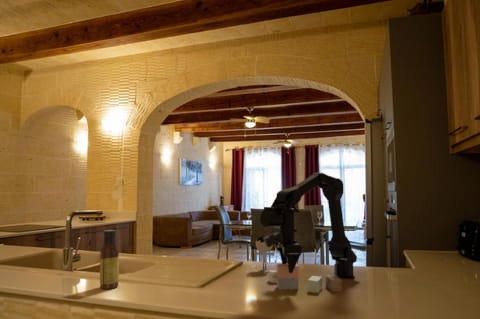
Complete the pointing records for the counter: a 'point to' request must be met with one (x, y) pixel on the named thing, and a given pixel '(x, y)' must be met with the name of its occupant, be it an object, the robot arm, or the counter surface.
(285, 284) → the slate block
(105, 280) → the sauce bottle
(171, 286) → the counter surface
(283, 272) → the terracotta block
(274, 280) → the birch block
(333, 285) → the walnut block
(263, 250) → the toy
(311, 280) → the sage block
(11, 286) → the counter surface
